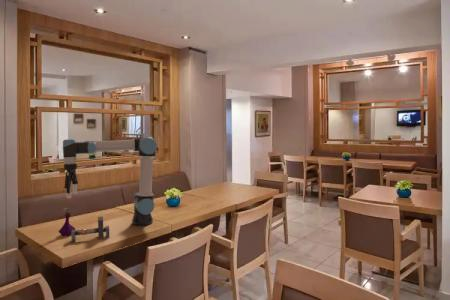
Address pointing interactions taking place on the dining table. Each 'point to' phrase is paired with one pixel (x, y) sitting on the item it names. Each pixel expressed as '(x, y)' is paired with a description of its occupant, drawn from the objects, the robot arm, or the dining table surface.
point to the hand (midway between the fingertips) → (71, 196)
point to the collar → (100, 227)
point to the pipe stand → (88, 232)
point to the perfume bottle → (66, 225)
